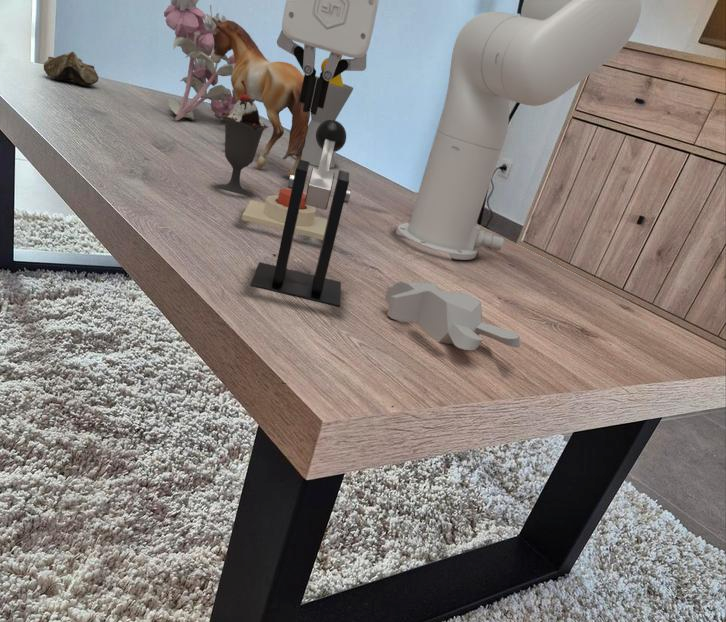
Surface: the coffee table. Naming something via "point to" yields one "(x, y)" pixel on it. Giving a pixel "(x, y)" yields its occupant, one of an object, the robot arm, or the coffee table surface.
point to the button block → (276, 217)
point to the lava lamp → (325, 116)
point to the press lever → (325, 163)
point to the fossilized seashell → (70, 69)
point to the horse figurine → (264, 85)
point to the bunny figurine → (444, 315)
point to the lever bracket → (279, 275)
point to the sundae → (241, 139)
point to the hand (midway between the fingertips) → (309, 111)
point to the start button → (285, 198)
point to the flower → (199, 58)
